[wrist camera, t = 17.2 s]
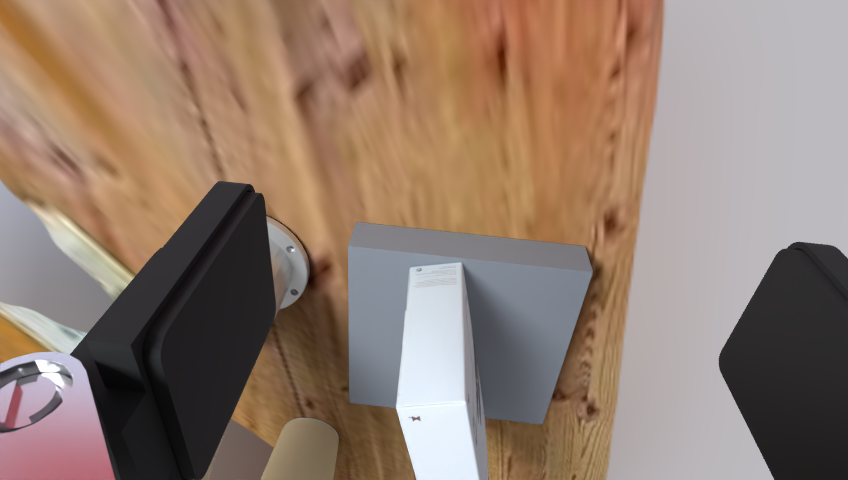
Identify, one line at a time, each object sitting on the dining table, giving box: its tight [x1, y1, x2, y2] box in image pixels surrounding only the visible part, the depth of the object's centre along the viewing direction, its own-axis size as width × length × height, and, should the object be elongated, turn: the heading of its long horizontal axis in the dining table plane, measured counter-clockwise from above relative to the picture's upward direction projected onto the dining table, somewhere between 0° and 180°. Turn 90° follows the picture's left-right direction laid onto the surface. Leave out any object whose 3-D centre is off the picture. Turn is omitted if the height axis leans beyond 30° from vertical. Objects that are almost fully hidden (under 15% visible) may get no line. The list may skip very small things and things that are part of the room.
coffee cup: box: [261, 418, 339, 480], centre depth 66 cm, size 9×9×12 cm
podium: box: [348, 222, 593, 424], centre depth 55 cm, size 22×22×4 cm
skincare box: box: [396, 262, 489, 480], centre depth 47 cm, size 21×6×16 cm, turn 9°
